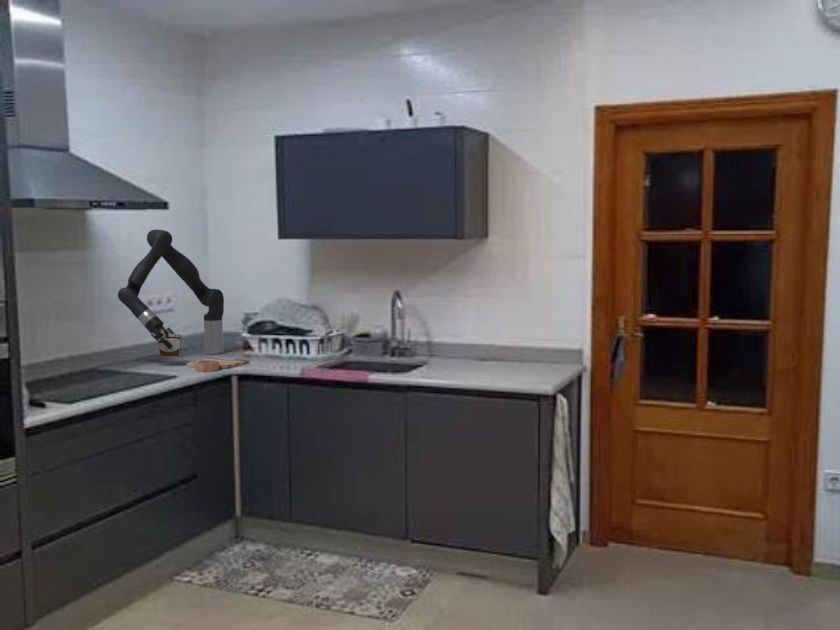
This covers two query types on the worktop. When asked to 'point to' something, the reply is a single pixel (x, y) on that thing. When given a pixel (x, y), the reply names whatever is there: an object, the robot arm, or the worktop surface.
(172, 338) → the food container
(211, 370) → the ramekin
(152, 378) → the worktop surface
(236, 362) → the board
